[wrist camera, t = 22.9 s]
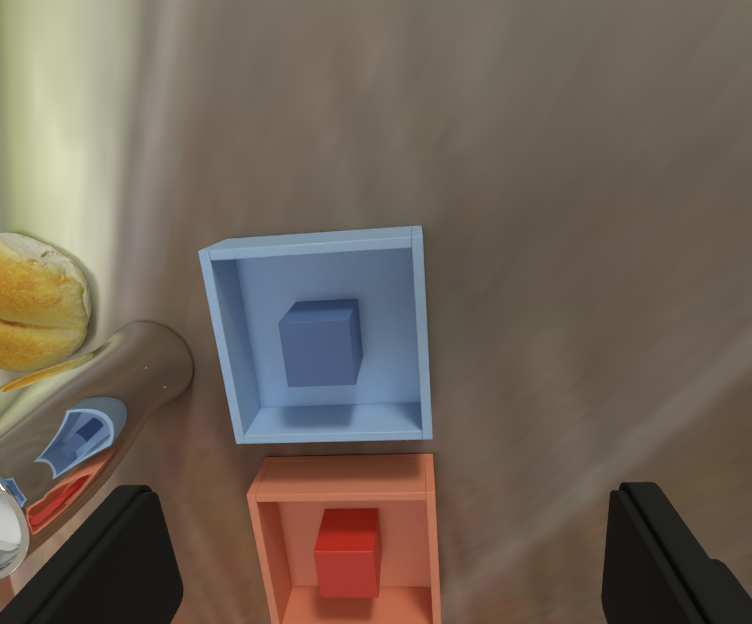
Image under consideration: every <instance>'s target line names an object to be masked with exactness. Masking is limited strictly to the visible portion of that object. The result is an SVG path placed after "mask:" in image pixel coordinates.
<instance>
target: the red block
mask: <svg viewBox="0 0 752 624" xmlns="http://www.w3.org/2000/svg"><path fill="white" fill-rule="evenodd" d="M314 557H315V564H316V571H317V577H318V584H319V590H320V597H331V598H378V596H379V584H380V572H381V560H382V544H381V534H380V523H379V513H378V509H377V508H371V509H325V510H324V513H323V517H322V521H321V525H320V529H319V533H318V536H317V540H316V544H315V548H314Z"/></svg>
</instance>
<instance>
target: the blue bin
mask: <svg viewBox="0 0 752 624" xmlns="http://www.w3.org/2000/svg"><path fill="white" fill-rule="evenodd" d="M198 252H199V258H200V263H201V268H202V273H203V278H204V283H205V288H206V293H207V298H208V303H209V308H210V313H211V318H212V323H213V328H214V333H215V339H216V344H217V349H218V354H219V359H220V364H221V369H222V374H223V379H224V384H225V389H226V394H227V399H228V404H229V409H230V414H231V420H232V425H233V430H234V435H235V440H236V444H245V443H246V444H255V443H297V442H339V441H380V440H422V439H433V436H432V416H431V395H430V375H429V354H428V333H427V313H426V292H425V272H424V251H423V234H422V226H421V225H420V226H405V227H391V228H376V229H362V230H348V231H333V232H319V233H304V234H290V235H275V236H261V237H246V238H232V239H226V240H223V241H221V242H218V243H216V244H214V245H211V246H209V247H207V248H204V249H202V250H200V251H198ZM340 299H358V308H359V318H360V329H361V339H362V350H363V359H362V363H361V367H360V370H359V374H358V378H357V382H356V385H336V386H308V387H288V384H287V377H286V371H285V364H284V358H283V351H282V344H281V338H280V331H279V325H278V323H279V321H280V320H281V319H282V318H283V317H284V315H285V314H286V313H287V312H288V311H289V309H290V308H291V307H292V306H293V305H294V303H295V302H303V301H322V300H340Z"/></svg>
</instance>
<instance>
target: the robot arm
mask: <svg viewBox="0 0 752 624" xmlns="http://www.w3.org/2000/svg"><path fill="white" fill-rule="evenodd" d="M182 597H183V583H182V580H181V576H180V573H179V569H178V565H177V562H176V558H175V555H174V551H173V547H172V544H171V540H170V537H169V533H168V529H167V526H166V522H165V519H164V515H163V511H162V508H161V504H160V501H159V497H158V495H157V494H156V493H155V492H152V490H151V488H150V487H149V486H147V485H121V486H118V487H117V488H116V489H114V490H113V491H112V492H111V493H110V495H109V496H108V497H107V498H106V499H105V500H104V501H103V502H102V503H101V504H100V505H99V506H98V508H97V509H96V510H95V511H94V512H93V513H92V514H91V515H90V516H89V517H88V518H87V519H86V520H85V522H84V523H83V524H82V525H81V526H80V527H79V528H78V529H77V530H76V531H75V532H74V533H73V535H72V536H71V537H70V538H69V539H68V540H67V541H66V542H65V543H64V544H63V545H62V546H61V547H60V549H59V550H58V551H57V552H56V553H55V554H54V555H53V556H52V557H51V558H50V559H49V560H48V562H47V563H46V564H45V565H44V566H43V567H42V568H41V569H40V570H39V571H38V572H37V573H36V575H35V576H34V577H33V578H32V579H31V580H30V581H29V582H28V583H27V584H26V585H25V586H24V587H23V589H22V590H21V591H20V592H19V593H18V594H17V595H16V596H15V597H14V598H13V599H12V600H11V602H10V603H9V604H8V605H7V606H6V607H5V608H4V609H3V610H2V611H1V612H0V624H170V623H171V621H172V619H173V617H174V615H175V614H176V612H177V610H178V608H179V606H180V604H181V601H182ZM601 598H602V606H603V611H604V614H605V617H606V620H607V623H608V624H752V599H751V598H750V596H749V595H748V594H747V592H746V591H745V590H744V588H743V587H742V585H741V584H740V583H739V581H738V580H737V579H736V577H735V576H734V575H733V573H732V572H731V571H730V570H729V569H728V567H727V566H726V565H725V564H724V563H722V562H721V561H719V560H717V559H710V558H709V557H708V555H707V554H706V553H705V551H704V550H703V548H702V547H701V546H700V544H699V543H698V541H697V540H696V538H695V537H694V536H693V534H692V533H691V531H690V530H689V528H688V527H687V526H686V524H685V523H684V521H683V520H682V519H681V517H680V516H679V514H678V513H677V511H676V510H675V509H674V507H673V506H672V504H671V503H670V502H669V500H668V499H667V497H666V496H665V494H664V493H663V492H662V490H661V489H660V487H659V486H658V485H657V484H656V483H653V482H623V483H621V485H620V487H619V490H613V491H611V493H610V500H609V512H608V524H607V535H606V547H605V559H604V570H603V582H602V595H601Z"/></svg>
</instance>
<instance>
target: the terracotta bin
mask: <svg viewBox="0 0 752 624" xmlns="http://www.w3.org/2000/svg"><path fill="white" fill-rule="evenodd" d="M247 500H248V505H249V510H250V515H251V520H252V525H253V530H254V536H255V541H256V546H257V551H258V556H259V561H260V566H261V571H262V576H263V581H264V586H265V591H266V596H267V601H268V606H269V612H270V617H271V622H272V624H442V621H441V600H440V580H439V559H438V539H437V518H436V498H435V480H434V464H433V454H386V455H338V456H291V457H265V459H264V461H263V463H262V465H261V467H260V469H259V471H258V473H257V475H256V477H255V479H254V481H253V483H252V485H251V487H250V489H249V491H248V493H247ZM371 508H377V509H378V513H379V523H380V534H381V544H382V560H381V572H380V584H379V596H378V598H331V597H320V590H319V584H318V577H317V571H316V564H315V557H314V548H315V544H316V540H317V536H318V533H319V529H320V525H321V521H322V517H323V513H324V510H325V509H371Z"/></svg>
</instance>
